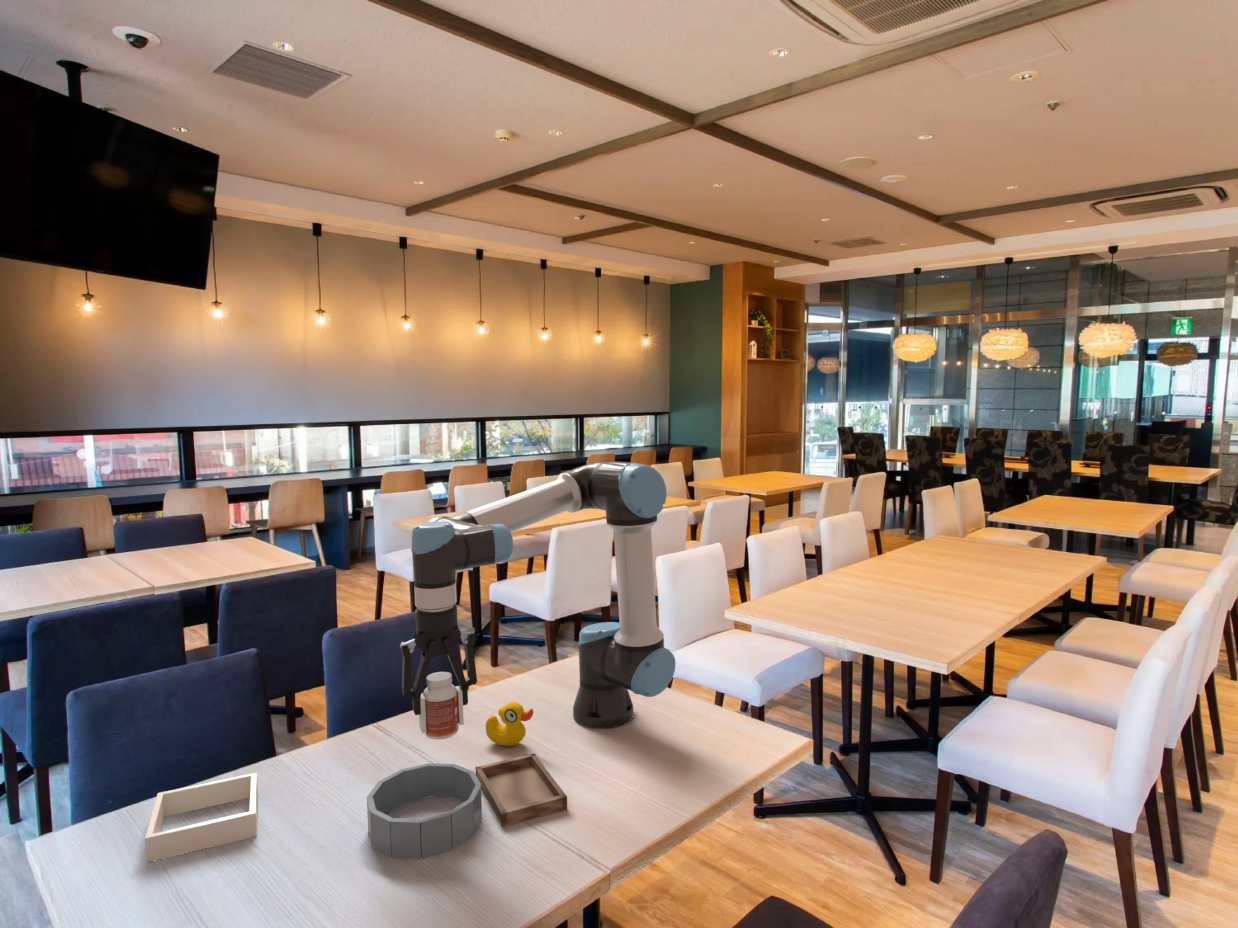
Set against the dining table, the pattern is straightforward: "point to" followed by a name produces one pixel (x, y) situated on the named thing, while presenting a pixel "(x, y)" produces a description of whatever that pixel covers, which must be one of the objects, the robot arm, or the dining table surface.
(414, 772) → the grey ringed piece
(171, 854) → the open rectangular frame
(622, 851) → the dining table surface
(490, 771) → the tray
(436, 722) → the pill bottle
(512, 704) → the duckling
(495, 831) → the dining table surface
